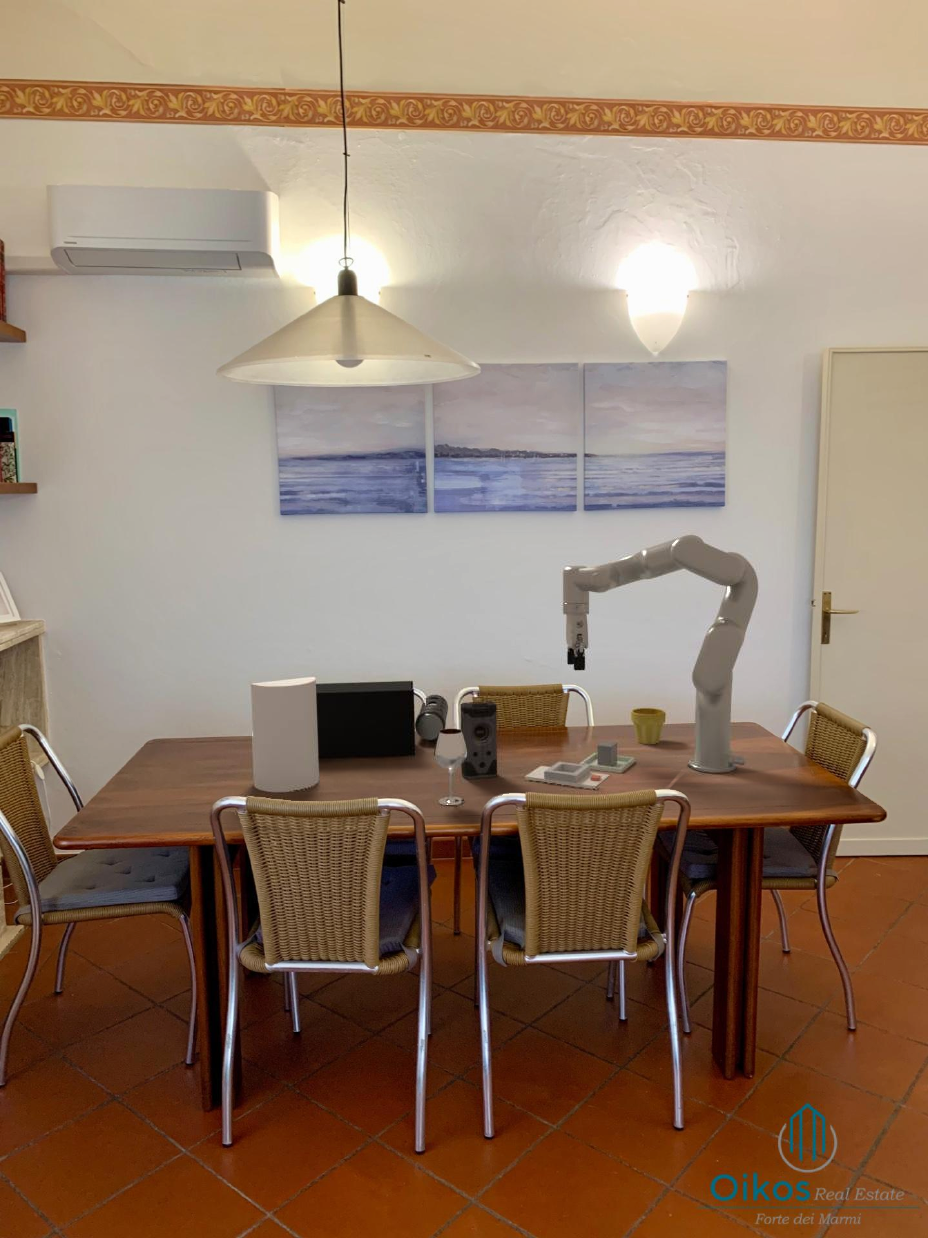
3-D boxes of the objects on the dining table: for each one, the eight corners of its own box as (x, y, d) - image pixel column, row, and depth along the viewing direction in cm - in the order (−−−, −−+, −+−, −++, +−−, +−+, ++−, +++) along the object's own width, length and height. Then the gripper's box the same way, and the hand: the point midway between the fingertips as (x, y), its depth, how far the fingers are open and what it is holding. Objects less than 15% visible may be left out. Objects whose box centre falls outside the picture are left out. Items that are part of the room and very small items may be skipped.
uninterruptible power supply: (415, 757, 268) (414, 690, 266) (299, 761, 266) (297, 694, 263) (414, 743, 285) (412, 680, 282) (305, 746, 282) (302, 683, 280)
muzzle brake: (449, 723, 310) (448, 693, 309) (445, 744, 282) (444, 712, 281) (421, 723, 310) (420, 693, 309) (414, 745, 283) (414, 712, 281)
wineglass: (467, 796, 232) (466, 727, 229) (468, 806, 223) (467, 735, 221) (435, 797, 231) (433, 727, 229) (435, 807, 223) (433, 735, 221)
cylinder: (328, 785, 242) (325, 681, 239) (265, 796, 234) (260, 689, 230) (306, 769, 257) (302, 671, 254) (245, 779, 249) (241, 678, 245)
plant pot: (636, 736, 289) (636, 706, 288) (668, 739, 284) (669, 708, 283) (627, 744, 280) (627, 713, 278) (660, 747, 275) (660, 715, 274)
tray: (634, 764, 257) (634, 757, 257) (621, 776, 247) (621, 768, 247) (594, 759, 263) (594, 753, 263) (579, 770, 253) (579, 763, 252)
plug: (617, 763, 256) (617, 742, 255) (611, 768, 252) (611, 746, 251) (603, 761, 258) (603, 741, 257) (597, 766, 254) (597, 745, 253)
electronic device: (465, 780, 245) (464, 707, 243) (460, 773, 251) (459, 702, 248) (498, 776, 248) (498, 704, 245) (492, 770, 253) (491, 700, 251)
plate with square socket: (609, 778, 245) (609, 767, 244) (595, 790, 235) (595, 778, 235) (541, 769, 254) (541, 758, 254) (524, 780, 245) (524, 769, 244)
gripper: (595, 611, 255) (595, 672, 257) (582, 605, 272) (582, 661, 274) (568, 612, 254) (568, 672, 256) (557, 605, 271) (558, 662, 273)
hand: (576, 667), depth 265 cm, fingers open, 9 cm apart
